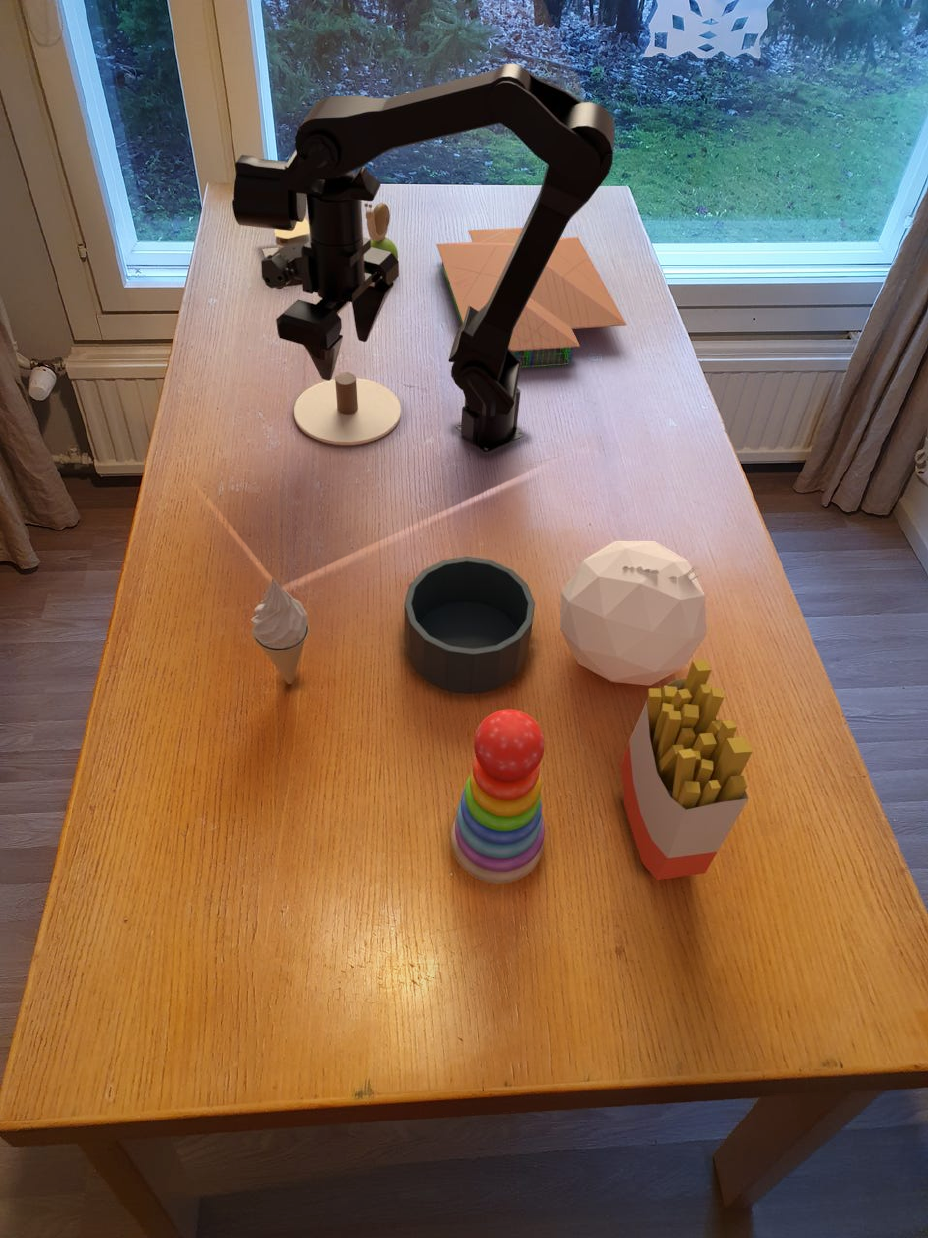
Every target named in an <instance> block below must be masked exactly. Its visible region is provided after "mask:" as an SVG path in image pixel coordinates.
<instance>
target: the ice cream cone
mask: <svg viewBox="0 0 928 1238" xmlns="http://www.w3.org/2000/svg"><path fill="white" fill-rule="evenodd" d="M263 597H264V599H262V600H261V601H260V604H258V605H256V607H254V613H258V614H257V615H254V616H253V617H252V618H251V619H250V621H251V623H253V627H252V637H253V639H254V640H255V642H256V644H258V645H259V647H261V649H262V650H263V651H264V653H265V654H266V656H267V657H268V658H269V659H270V661H271V663H272V664H273V665H274V667H275V668H276V670H277V671H278V672H279V673H280V675H281V676H282V678H283V679H284V680H285V681H286V683H287V685H292V684H293V682H294V679H295V676H296V672H297V670H298V669H297V668H298V666H299V662H300V659H301V655H302V652H303V648H304V644H305V642H306V639H307V637H308V635H309V632H310V624H309V620H308V612H307V611H306V609H305V607H304V606H303V604H302V602H301V601H299V600H298V599H296V598H293V597H292V595H291V594H290V593H288V592H287V589H285V588H283V587H282V586H281V585H280V584H279V583H278V581H276V579H275V578H274V577H272V578H271V581H270V583H269V585H268V587H267V589H266V591H265V593H263Z"/></svg>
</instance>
